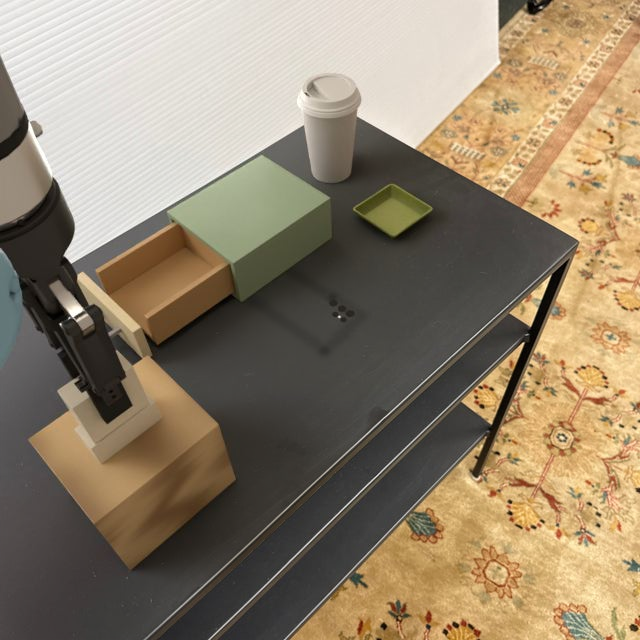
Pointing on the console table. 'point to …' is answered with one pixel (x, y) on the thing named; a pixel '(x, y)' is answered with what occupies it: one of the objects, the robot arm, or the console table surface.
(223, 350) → the console table surface
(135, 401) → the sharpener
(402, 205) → the olive green square tray
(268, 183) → the cabinet
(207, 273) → the drawer
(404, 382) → the console table surface
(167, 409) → the stand
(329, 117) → the coffee cup
